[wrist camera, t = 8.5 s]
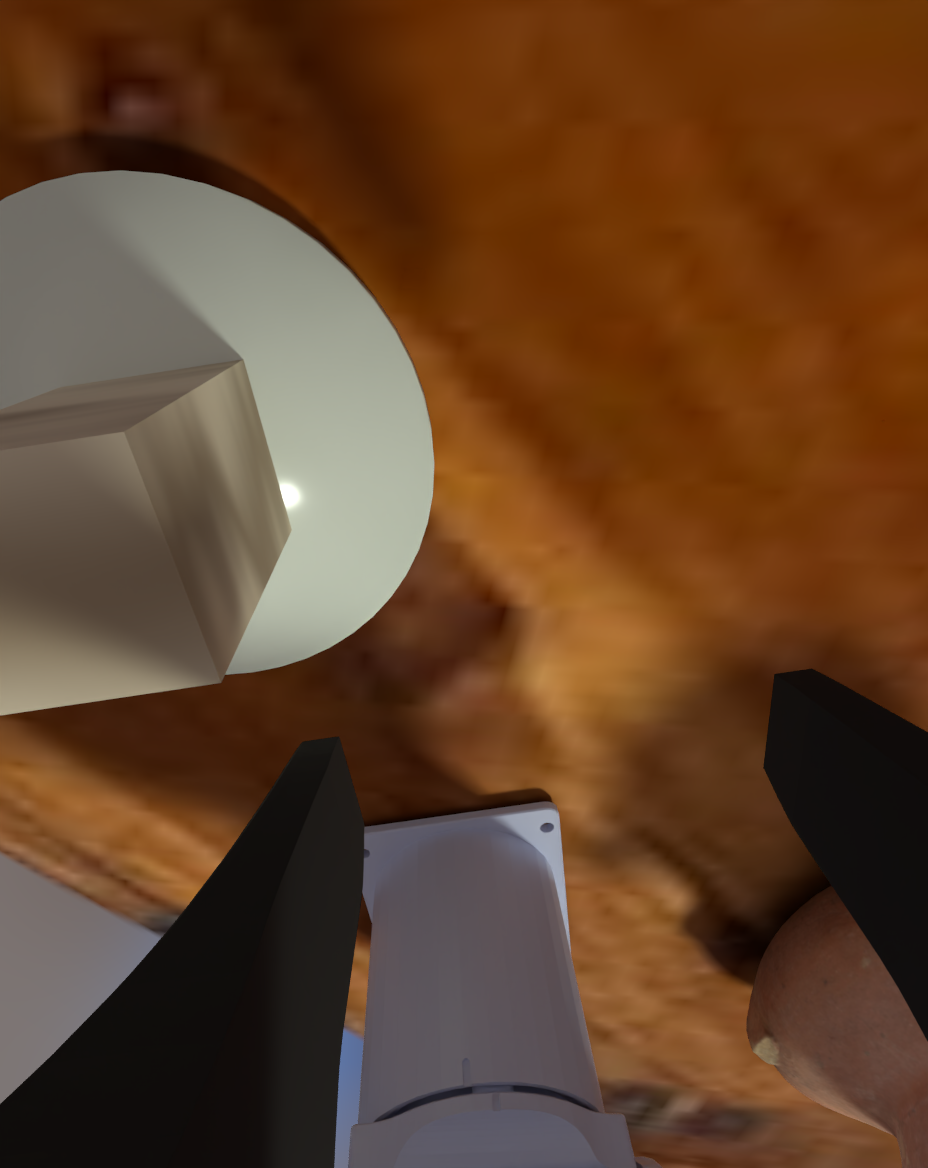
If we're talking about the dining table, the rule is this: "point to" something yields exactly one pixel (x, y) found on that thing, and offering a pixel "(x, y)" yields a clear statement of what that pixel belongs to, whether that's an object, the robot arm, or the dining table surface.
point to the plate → (228, 333)
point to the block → (132, 535)
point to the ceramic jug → (841, 1025)
